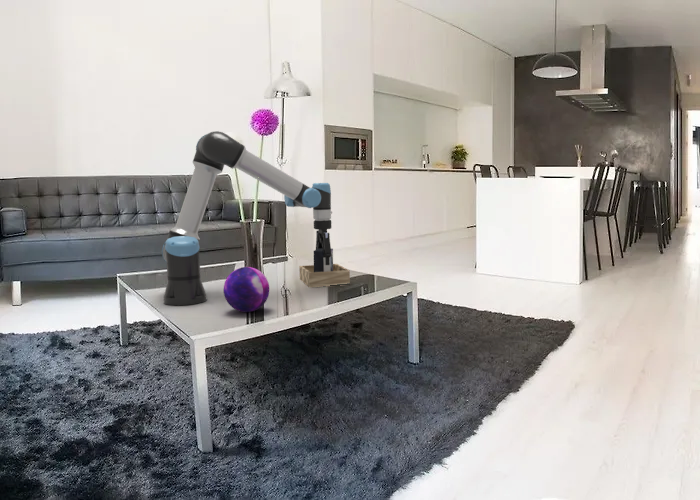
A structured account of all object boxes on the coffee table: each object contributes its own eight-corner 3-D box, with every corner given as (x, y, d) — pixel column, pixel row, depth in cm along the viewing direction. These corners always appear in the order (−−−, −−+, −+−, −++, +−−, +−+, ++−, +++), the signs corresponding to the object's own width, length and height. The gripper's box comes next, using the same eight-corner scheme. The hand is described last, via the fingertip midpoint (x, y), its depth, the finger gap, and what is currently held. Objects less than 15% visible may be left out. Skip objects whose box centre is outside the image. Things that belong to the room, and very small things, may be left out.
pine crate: (349, 284, 237) (349, 270, 236) (309, 287, 232) (309, 273, 232) (337, 276, 257) (336, 263, 256) (299, 279, 252) (299, 265, 252)
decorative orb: (245, 305, 202) (243, 262, 200) (279, 309, 194) (277, 265, 192) (215, 313, 189) (212, 268, 187) (249, 318, 181) (248, 271, 180)
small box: (328, 275, 238) (327, 250, 237) (313, 275, 240) (312, 250, 238) (334, 271, 249) (333, 247, 247) (319, 271, 250) (318, 247, 249)
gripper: (338, 221, 231) (339, 274, 234) (324, 217, 254) (325, 266, 257) (320, 221, 229) (321, 275, 232) (307, 218, 252) (309, 267, 255)
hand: (323, 270), depth 244 cm, fingers closed on small box, 12 cm apart
